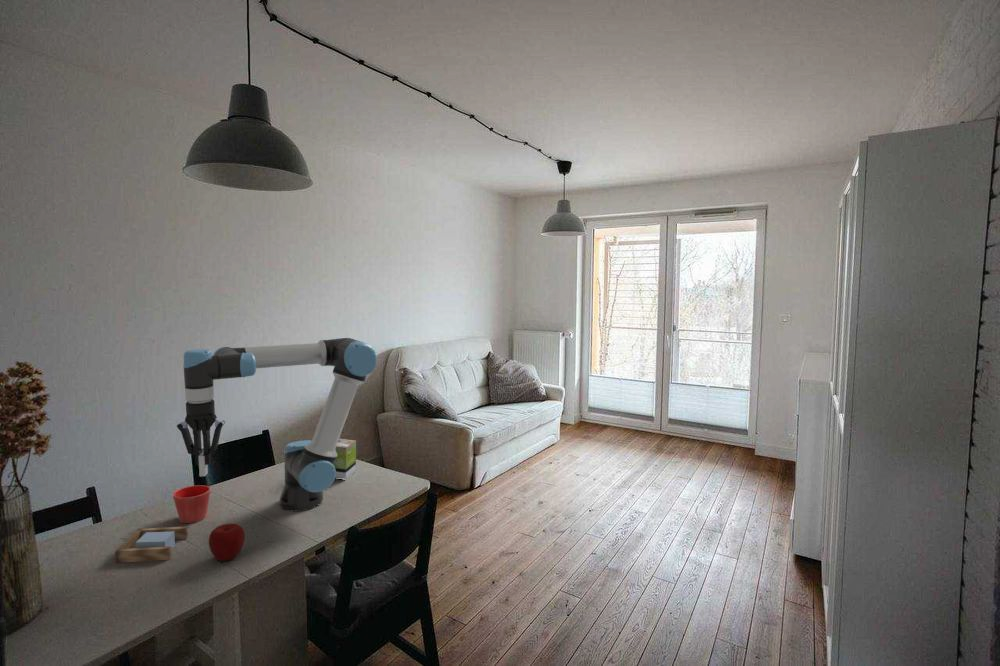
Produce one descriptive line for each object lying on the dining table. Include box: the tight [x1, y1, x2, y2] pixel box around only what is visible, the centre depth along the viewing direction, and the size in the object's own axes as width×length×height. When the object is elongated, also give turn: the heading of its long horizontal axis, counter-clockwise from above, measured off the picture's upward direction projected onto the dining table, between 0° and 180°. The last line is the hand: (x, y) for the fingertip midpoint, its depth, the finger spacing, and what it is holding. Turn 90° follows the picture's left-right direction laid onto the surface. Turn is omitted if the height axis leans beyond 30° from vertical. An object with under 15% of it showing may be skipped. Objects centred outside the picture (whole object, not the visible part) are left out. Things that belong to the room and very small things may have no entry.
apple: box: [208, 522, 246, 562], centre depth 153 cm, size 10×10×10 cm
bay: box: [114, 526, 189, 564], centre depth 157 cm, size 14×13×4 cm
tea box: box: [334, 438, 357, 478], centre depth 218 cm, size 15×10×15 cm
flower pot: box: [172, 484, 211, 524], centre depth 176 cm, size 11×11×10 cm
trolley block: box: [135, 531, 176, 549], centre depth 156 cm, size 8×7×4 cm
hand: (203, 474), depth 159 cm, fingers closed
